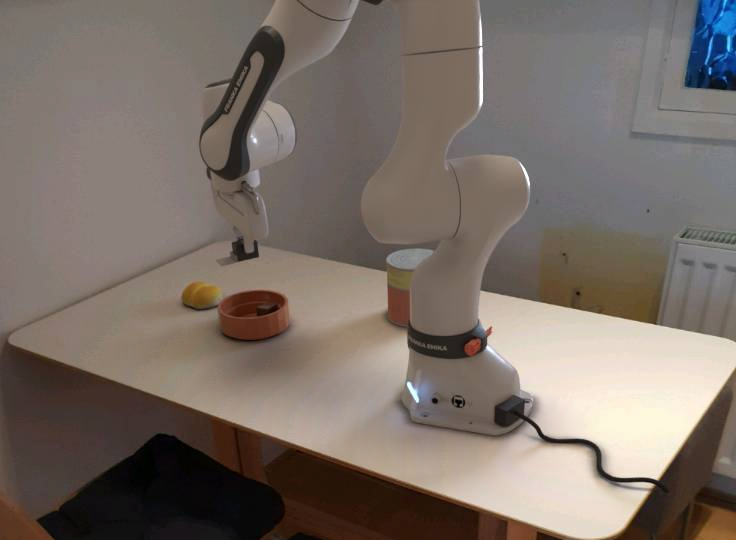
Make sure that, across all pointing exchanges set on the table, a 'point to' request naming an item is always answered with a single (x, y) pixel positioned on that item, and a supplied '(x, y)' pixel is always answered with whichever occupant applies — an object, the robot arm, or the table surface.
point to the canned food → (402, 281)
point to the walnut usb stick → (266, 309)
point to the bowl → (253, 315)
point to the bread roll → (202, 295)
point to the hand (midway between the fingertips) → (245, 248)
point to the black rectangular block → (239, 254)
